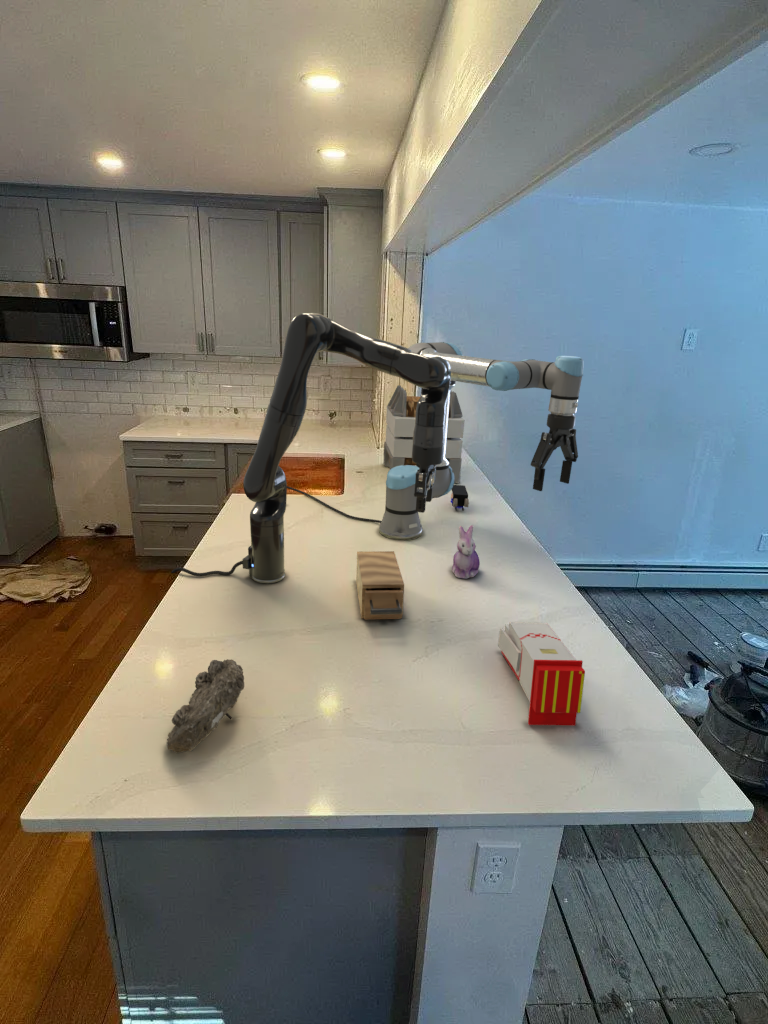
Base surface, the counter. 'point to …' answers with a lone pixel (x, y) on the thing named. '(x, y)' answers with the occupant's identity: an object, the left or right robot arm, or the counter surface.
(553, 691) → the toy
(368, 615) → the drawer
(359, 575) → the cabinet
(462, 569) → the figurine
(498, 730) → the counter surface
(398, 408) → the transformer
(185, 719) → the fossil
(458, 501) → the figurine character
